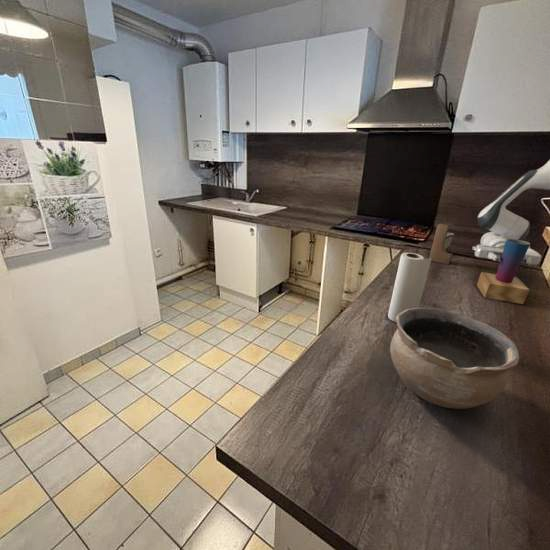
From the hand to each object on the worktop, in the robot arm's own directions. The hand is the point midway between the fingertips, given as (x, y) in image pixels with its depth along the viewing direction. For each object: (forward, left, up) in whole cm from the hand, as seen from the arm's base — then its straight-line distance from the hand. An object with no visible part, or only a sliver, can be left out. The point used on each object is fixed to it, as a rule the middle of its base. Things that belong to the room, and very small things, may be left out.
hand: (512, 260), depth 105 cm
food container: (+20, -48, -14) cm, 54 cm away
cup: (0, -1, -8) cm, 8 cm away
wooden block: (+20, -30, -14) cm, 39 cm away
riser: (0, -1, -14) cm, 14 cm away
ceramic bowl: (+22, +65, -14) cm, 70 cm away
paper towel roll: (+32, +38, -14) cm, 52 cm away
